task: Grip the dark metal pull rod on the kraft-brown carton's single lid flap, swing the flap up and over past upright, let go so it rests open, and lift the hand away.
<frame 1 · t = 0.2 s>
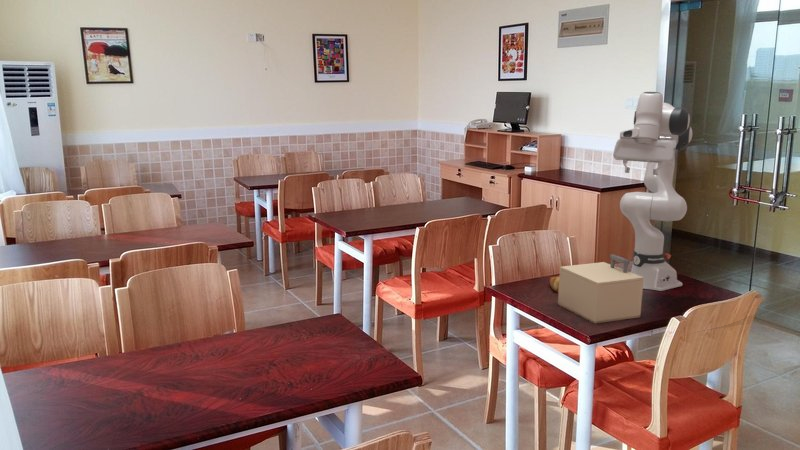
hand: (640, 173, 232), 51 cm above the table, tool tilted 20°, fingers open, 8 cm apart
croissant: (564, 292, 265), on the table
carton: (597, 310, 243), on the table
flap: (601, 266, 239), point 17 cm above the table, hinge at 0.0°
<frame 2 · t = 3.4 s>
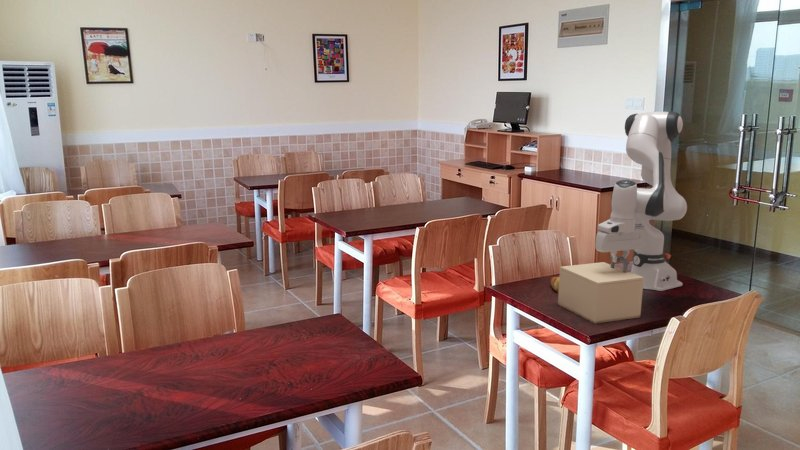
hand: (619, 261, 242), 18 cm above the table, tool pointing down, fingers closed on flap, 2 cm apart
flap: (601, 266, 239), point 17 cm above the table, hinge at 0.0°, touching gripper
everything else where it was.
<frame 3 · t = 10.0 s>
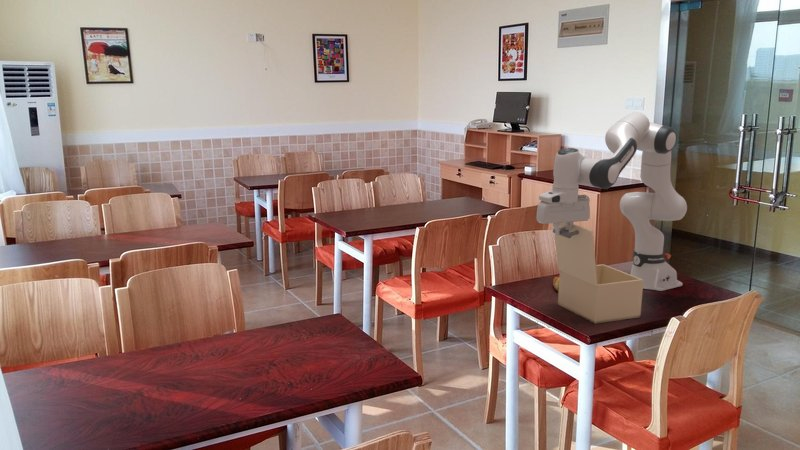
hand: (562, 234, 230), 30 cm above the table, tool pointing down, fingers closed on flap, 2 cm apart
flap: (568, 252, 232), point 23 cm above the table, hinge at 100.2°, touching gripper
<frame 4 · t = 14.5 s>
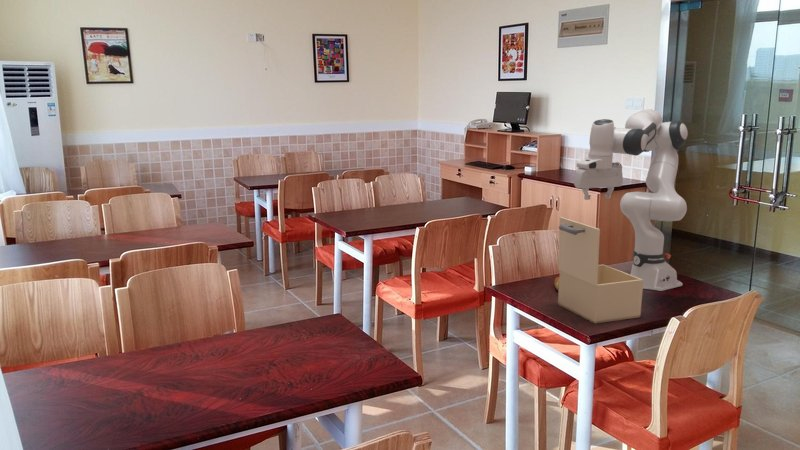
hand: (597, 198, 251), 39 cm above the table, tool pointing down, fingers open, 8 cm apart
flap: (572, 251, 233), point 24 cm above the table, hinge at 92.0°
at the end: flap at +92° (first picture: +0°); the gripper is holding nothing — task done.
